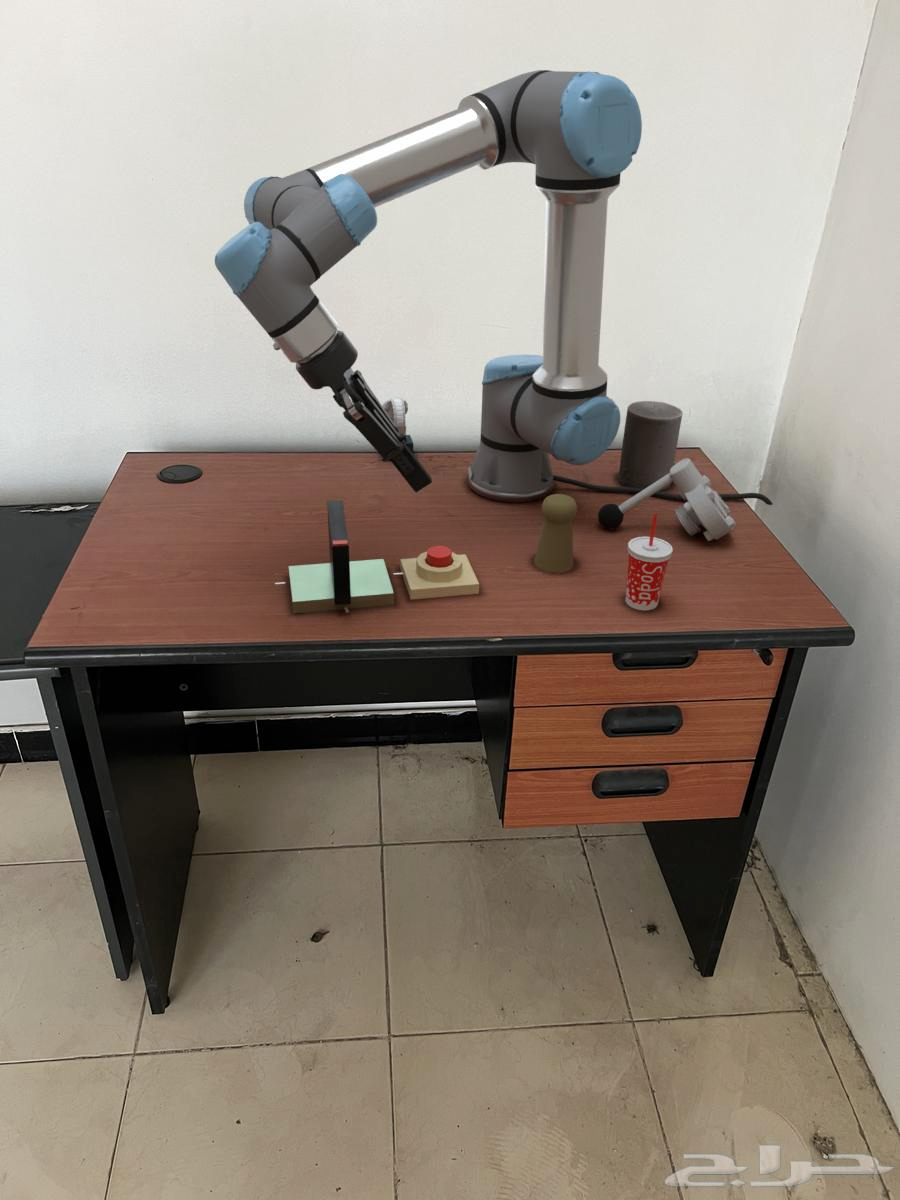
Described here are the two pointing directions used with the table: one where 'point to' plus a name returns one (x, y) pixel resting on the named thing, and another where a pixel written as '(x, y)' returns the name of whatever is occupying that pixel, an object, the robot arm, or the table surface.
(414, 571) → the button box
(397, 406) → the watch
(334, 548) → the black panel
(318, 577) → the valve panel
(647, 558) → the beverage cup
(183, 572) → the table surface
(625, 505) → the mechanical valve
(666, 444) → the pillar candle
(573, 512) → the olive pawn
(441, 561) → the red push button
